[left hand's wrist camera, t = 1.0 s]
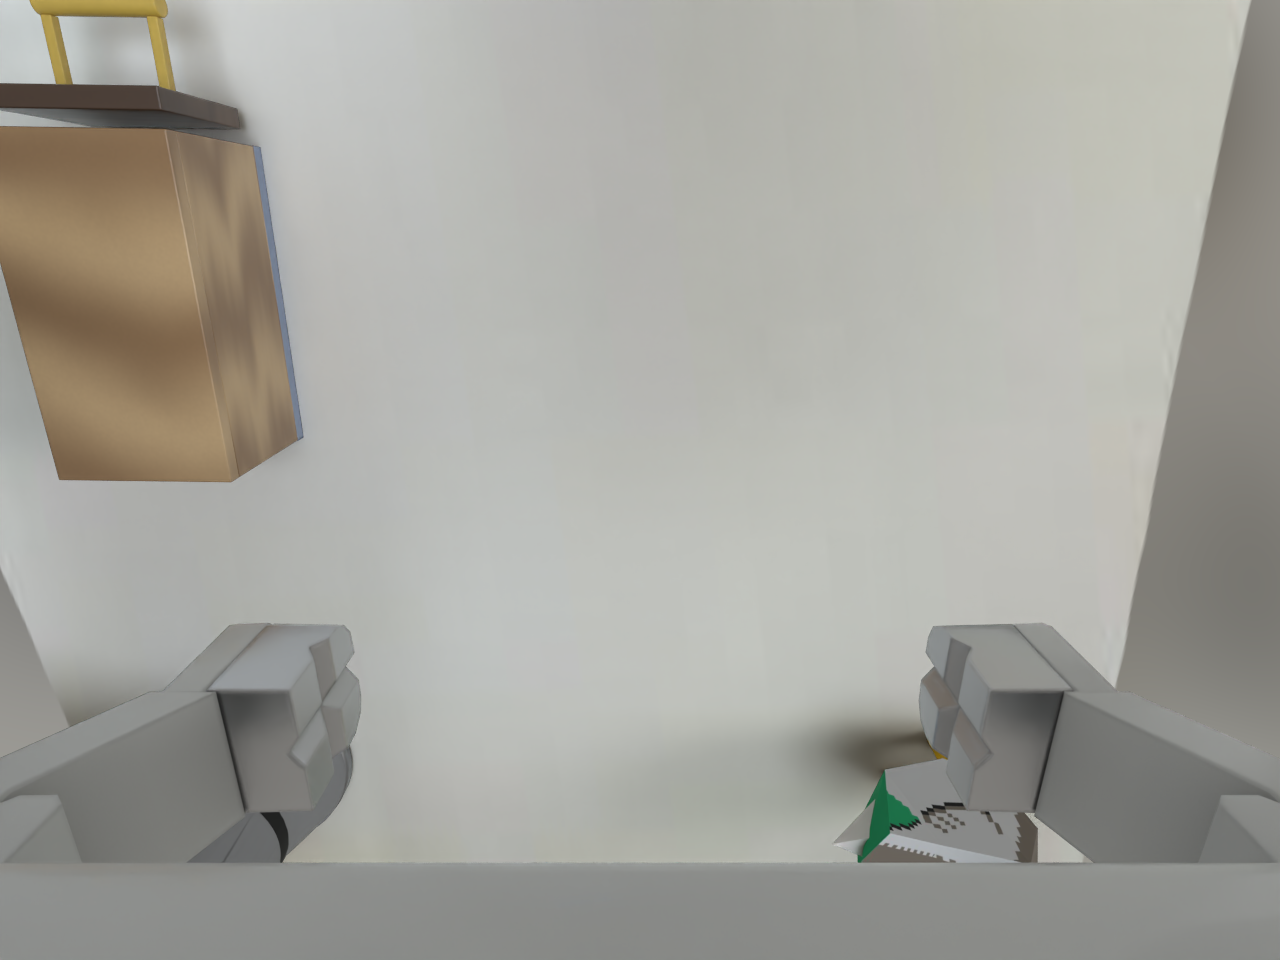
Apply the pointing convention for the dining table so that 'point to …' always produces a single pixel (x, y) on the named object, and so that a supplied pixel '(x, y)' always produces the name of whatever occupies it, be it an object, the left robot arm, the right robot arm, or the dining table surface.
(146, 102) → the drawer
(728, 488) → the dining table surface
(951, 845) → the toy
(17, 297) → the open wooden box
